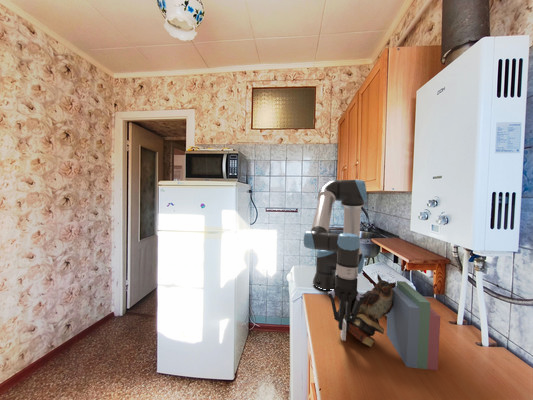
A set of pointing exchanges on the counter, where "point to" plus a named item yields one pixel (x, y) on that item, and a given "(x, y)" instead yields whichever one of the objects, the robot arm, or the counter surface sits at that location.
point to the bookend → (371, 311)
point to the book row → (413, 328)
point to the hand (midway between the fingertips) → (343, 337)
